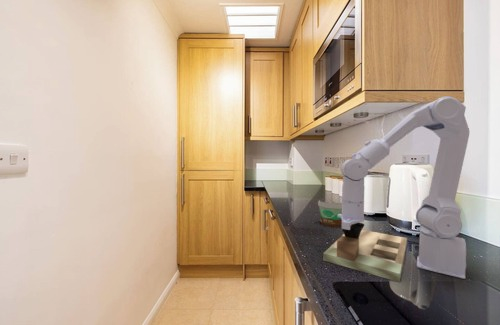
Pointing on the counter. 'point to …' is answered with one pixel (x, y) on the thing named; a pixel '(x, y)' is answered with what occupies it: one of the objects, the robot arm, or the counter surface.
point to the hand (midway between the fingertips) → (351, 248)
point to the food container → (330, 213)
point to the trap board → (374, 255)
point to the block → (348, 248)
